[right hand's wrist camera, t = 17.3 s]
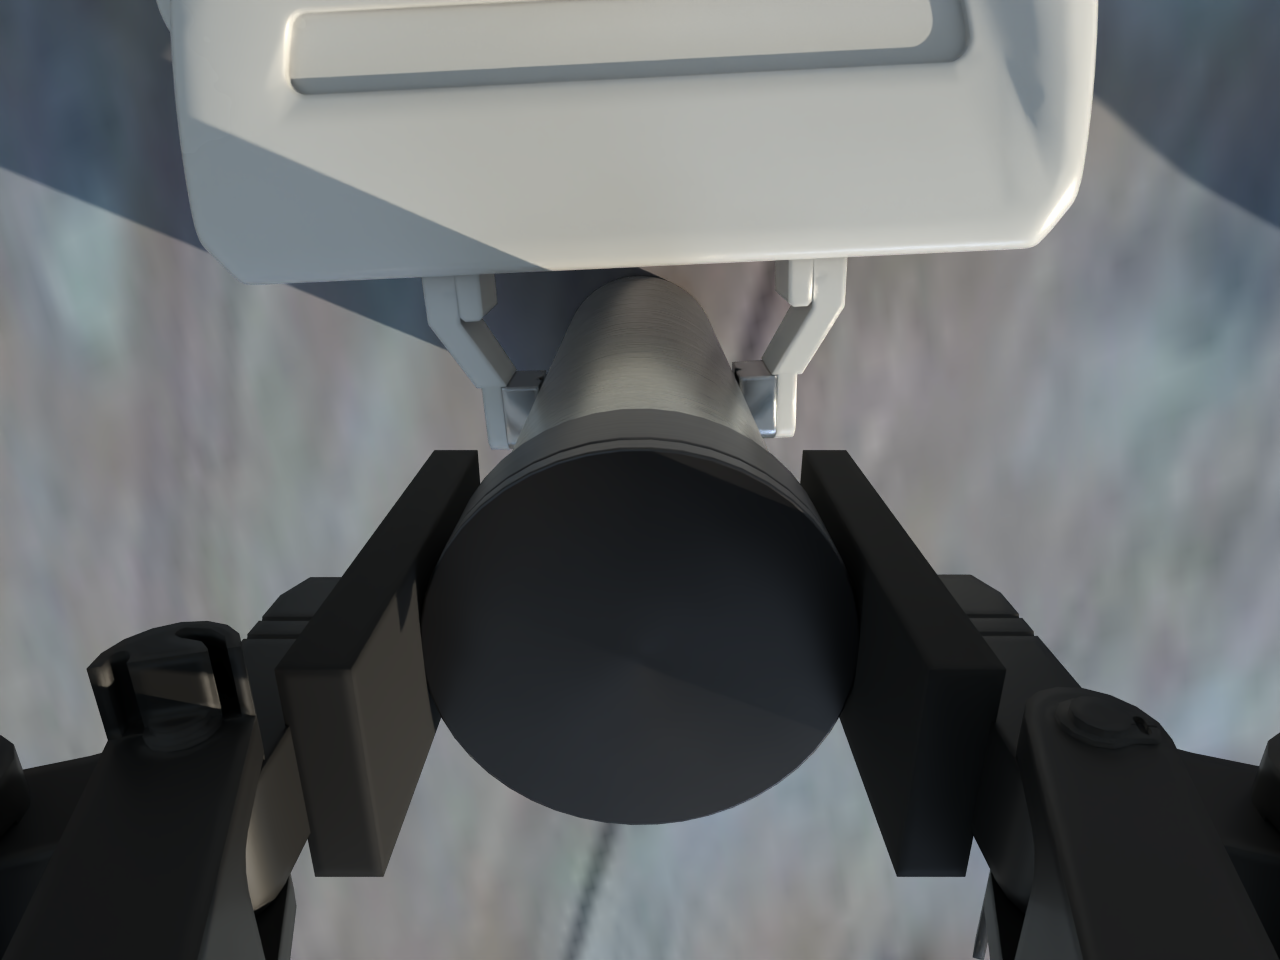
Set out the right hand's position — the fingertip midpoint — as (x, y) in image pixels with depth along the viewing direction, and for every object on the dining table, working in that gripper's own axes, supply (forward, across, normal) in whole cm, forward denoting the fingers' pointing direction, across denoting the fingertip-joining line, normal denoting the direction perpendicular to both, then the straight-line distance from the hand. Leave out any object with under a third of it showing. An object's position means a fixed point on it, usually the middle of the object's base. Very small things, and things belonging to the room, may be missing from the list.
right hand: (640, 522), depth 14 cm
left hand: (+7, 0, -1) cm, 7 cm away
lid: (-4, 0, 0) cm, 4 cm away
